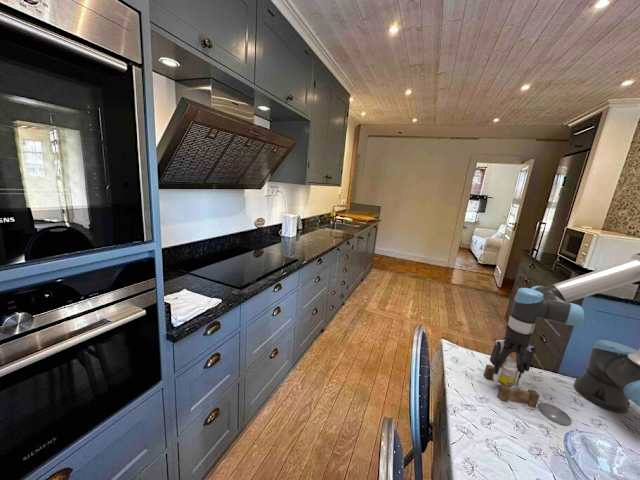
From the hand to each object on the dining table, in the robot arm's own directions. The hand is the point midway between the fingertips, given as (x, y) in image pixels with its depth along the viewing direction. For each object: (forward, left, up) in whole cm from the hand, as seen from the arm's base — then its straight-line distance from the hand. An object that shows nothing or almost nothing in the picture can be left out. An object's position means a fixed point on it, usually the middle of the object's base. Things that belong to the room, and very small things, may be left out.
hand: (503, 382), depth 103 cm
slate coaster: (-13, +9, -3) cm, 16 cm away
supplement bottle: (0, 0, -1) cm, 1 cm away
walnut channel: (-2, 0, -3) cm, 4 cm away
